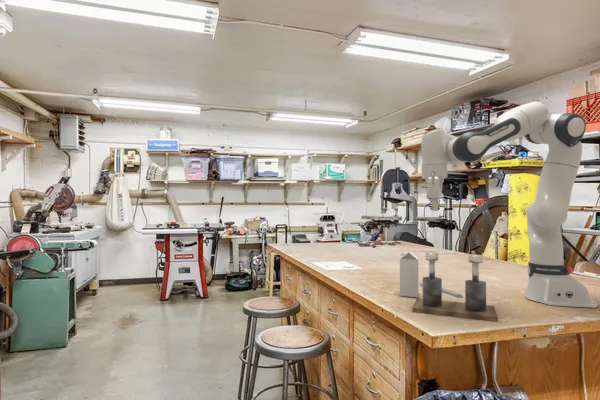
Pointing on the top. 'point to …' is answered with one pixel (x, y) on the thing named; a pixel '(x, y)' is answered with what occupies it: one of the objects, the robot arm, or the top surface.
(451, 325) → the top surface
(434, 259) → the plunger
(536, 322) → the top surface
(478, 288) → the press block
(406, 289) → the milk carton
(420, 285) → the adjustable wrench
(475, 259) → the plunger
